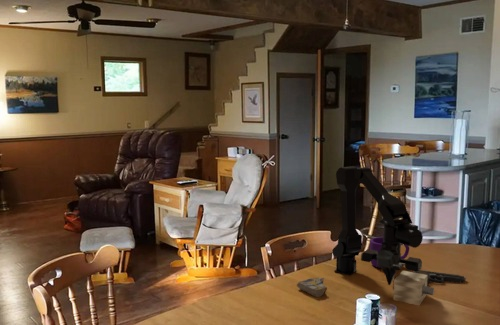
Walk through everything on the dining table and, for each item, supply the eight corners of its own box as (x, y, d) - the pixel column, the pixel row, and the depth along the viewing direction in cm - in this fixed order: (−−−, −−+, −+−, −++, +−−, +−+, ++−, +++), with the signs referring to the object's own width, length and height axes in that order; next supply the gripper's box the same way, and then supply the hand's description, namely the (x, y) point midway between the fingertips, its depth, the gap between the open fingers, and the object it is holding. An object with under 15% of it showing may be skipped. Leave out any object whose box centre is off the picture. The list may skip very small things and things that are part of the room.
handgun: (470, 288, 161) (465, 274, 172) (413, 280, 166) (411, 267, 177) (469, 296, 162) (464, 281, 173) (412, 288, 167) (411, 274, 178)
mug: (381, 272, 181) (381, 246, 180) (363, 262, 192) (364, 238, 190) (418, 266, 187) (419, 241, 186) (399, 257, 198) (400, 233, 197)
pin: (392, 292, 158) (392, 279, 158) (396, 288, 162) (396, 275, 161) (431, 300, 152) (431, 287, 151) (434, 295, 155) (435, 282, 155)
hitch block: (393, 300, 155) (394, 279, 154) (402, 289, 164) (402, 270, 163) (419, 305, 151) (420, 284, 150) (426, 294, 159) (427, 275, 159)
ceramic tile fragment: (331, 288, 157) (300, 289, 156) (331, 298, 157) (300, 299, 157) (323, 276, 169) (294, 276, 168) (322, 285, 169) (294, 285, 169)
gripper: (356, 240, 157) (354, 286, 159) (414, 250, 147) (411, 299, 149) (367, 232, 166) (365, 276, 168) (423, 241, 156) (420, 288, 158)
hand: (389, 284), depth 160 cm, fingers closed
